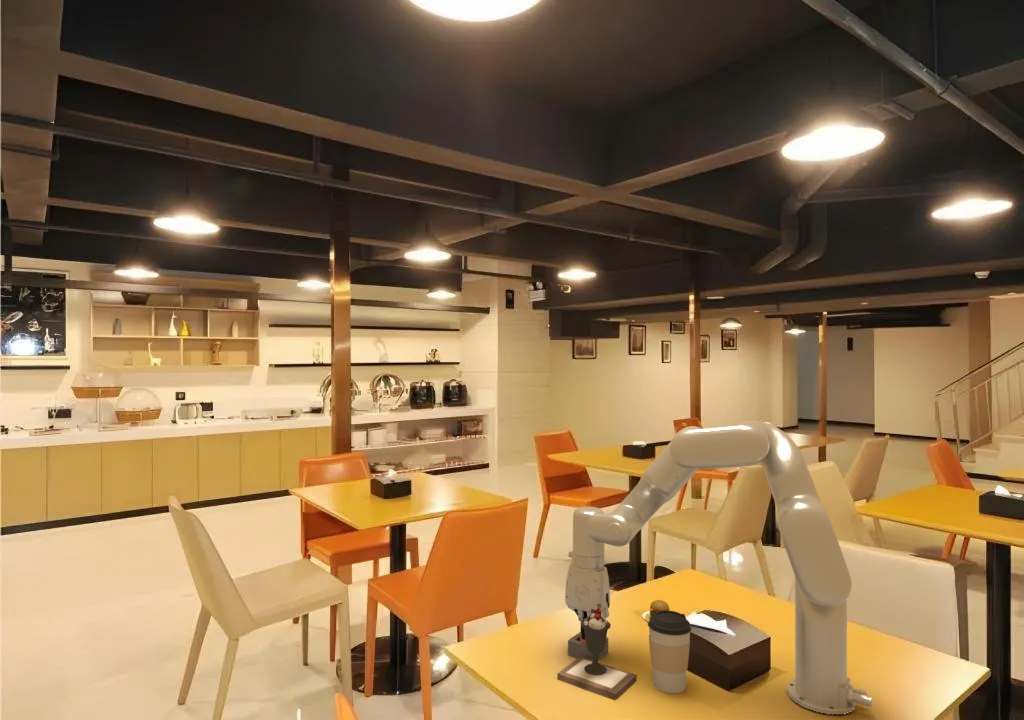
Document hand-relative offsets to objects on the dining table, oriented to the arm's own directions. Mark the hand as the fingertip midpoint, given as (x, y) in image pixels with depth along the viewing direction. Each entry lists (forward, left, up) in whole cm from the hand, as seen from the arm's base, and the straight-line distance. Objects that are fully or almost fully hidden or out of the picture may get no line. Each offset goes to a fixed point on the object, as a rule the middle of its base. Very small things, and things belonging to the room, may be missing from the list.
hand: (587, 637), depth 145 cm
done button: (0, 0, -2) cm, 2 cm away
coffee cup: (-21, +2, -4) cm, 22 cm away
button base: (0, 0, -4) cm, 4 cm away
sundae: (-7, +8, -3) cm, 11 cm away
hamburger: (-5, -30, -5) cm, 31 cm away
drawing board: (-8, +9, -4) cm, 13 cm away
